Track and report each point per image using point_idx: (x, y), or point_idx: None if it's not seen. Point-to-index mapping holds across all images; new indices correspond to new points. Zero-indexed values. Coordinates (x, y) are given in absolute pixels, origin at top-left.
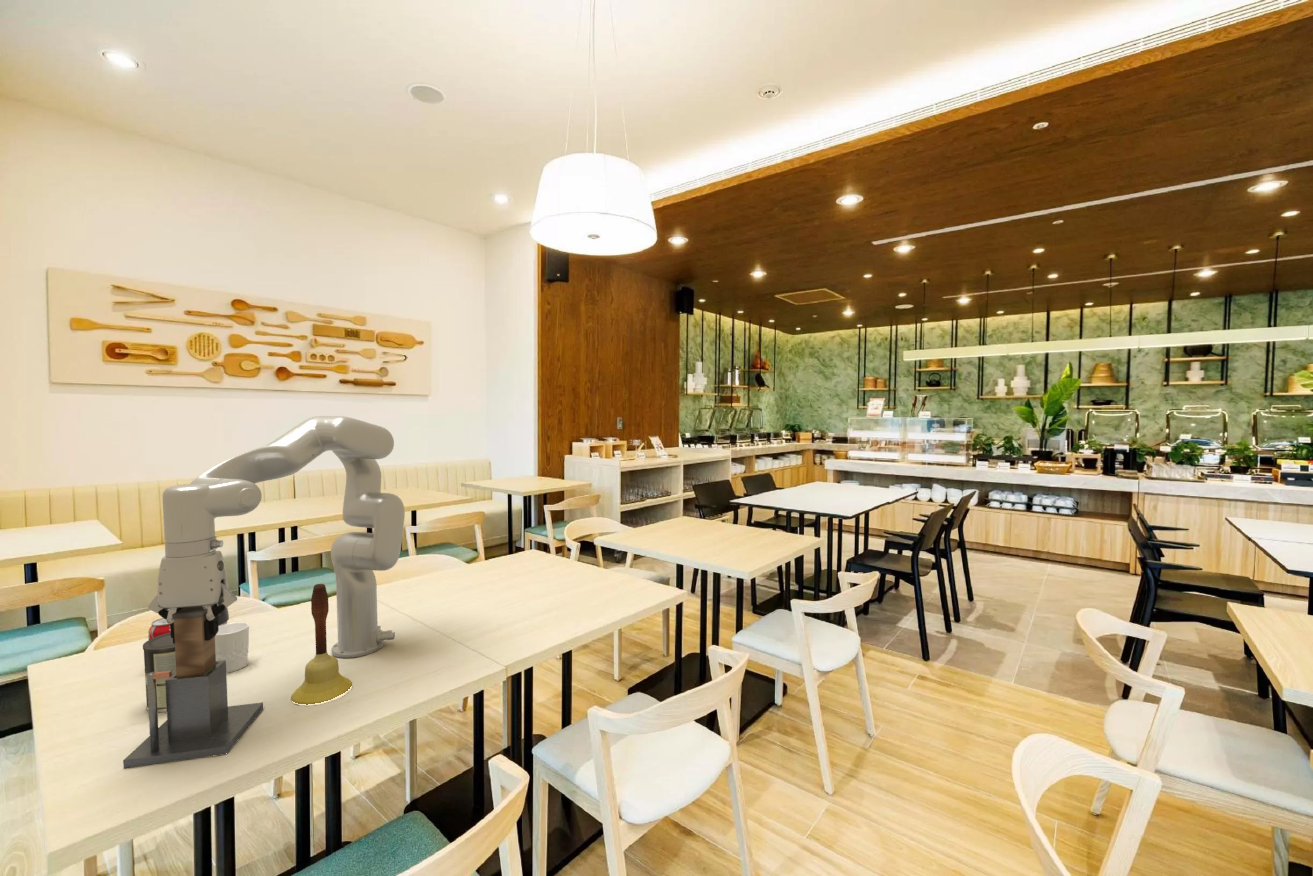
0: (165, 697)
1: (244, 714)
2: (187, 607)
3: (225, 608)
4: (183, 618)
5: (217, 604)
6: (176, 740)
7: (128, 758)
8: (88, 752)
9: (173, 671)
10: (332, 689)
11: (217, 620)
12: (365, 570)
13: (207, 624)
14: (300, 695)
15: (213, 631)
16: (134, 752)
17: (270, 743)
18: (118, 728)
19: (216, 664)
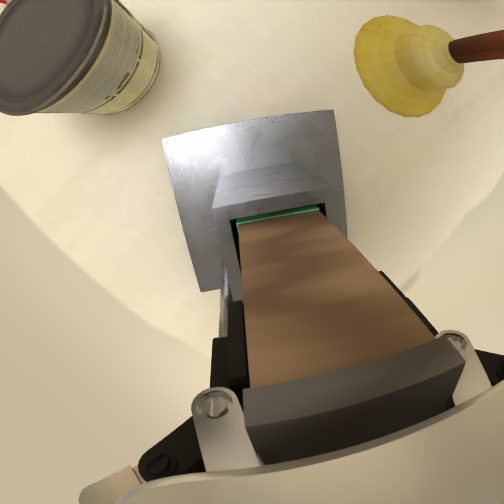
0: (111, 108)
1: (323, 157)
2: (290, 448)
3: (501, 362)
4: None
5: (485, 386)
6: None
7: (205, 288)
8: (103, 240)
9: (100, 94)
10: (439, 93)
11: (433, 333)
12: None
13: None
14: (391, 94)
15: None
16: (200, 273)
17: (394, 233)
18: (84, 170)
19: (318, 208)
